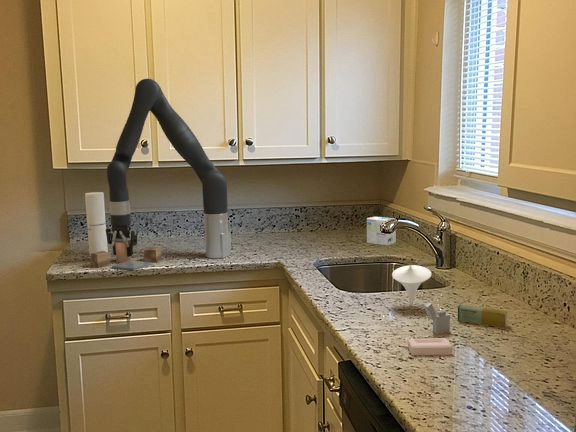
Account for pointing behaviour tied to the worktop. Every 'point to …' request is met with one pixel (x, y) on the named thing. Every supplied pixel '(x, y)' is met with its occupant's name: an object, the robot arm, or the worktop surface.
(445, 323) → the lighter
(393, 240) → the light bulb box
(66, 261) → the worktop surface
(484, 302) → the worktop surface
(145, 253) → the block
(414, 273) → the white spinning top
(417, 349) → the soap bar
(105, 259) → the block
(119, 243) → the tan jar
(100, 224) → the cylindrical container
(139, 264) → the coaster
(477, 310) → the medication box
